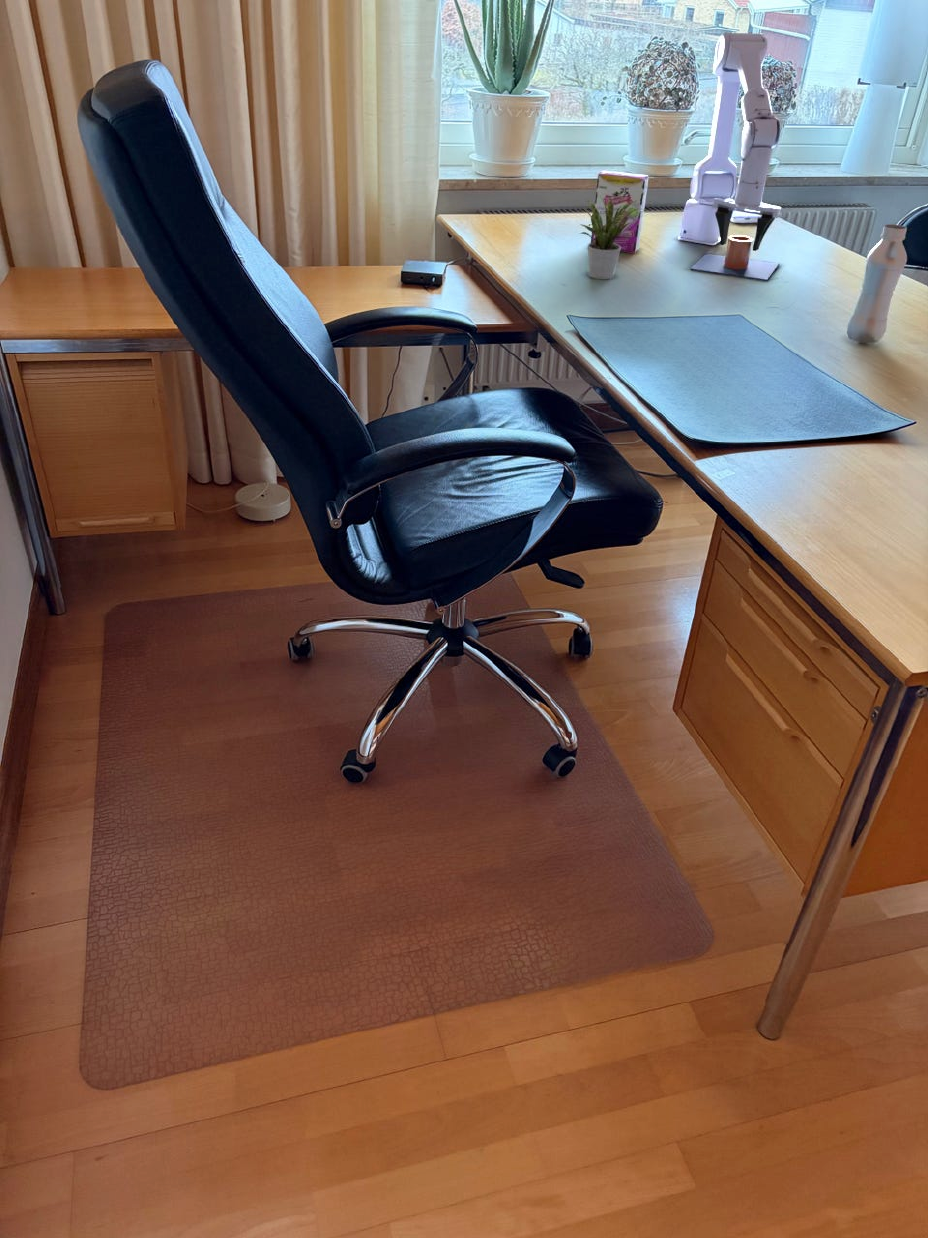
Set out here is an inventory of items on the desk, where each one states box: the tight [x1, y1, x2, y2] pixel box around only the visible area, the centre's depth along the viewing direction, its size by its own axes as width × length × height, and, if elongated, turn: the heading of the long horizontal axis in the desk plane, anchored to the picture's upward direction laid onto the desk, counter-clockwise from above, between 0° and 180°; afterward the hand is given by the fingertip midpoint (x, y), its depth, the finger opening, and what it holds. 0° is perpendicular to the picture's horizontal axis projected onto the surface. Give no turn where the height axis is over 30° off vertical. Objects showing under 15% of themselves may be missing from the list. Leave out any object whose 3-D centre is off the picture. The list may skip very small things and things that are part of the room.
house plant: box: [577, 195, 640, 280], centre depth 195 cm, size 14×14×16 cm
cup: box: [724, 234, 754, 269], centre depth 206 cm, size 5×5×6 cm
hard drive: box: [730, 211, 762, 224], centre depth 250 cm, size 2×8×12 cm
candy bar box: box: [590, 170, 650, 254], centre depth 214 cm, size 11×5×16 cm, turn 71°
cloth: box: [690, 253, 780, 282], centre depth 208 cm, size 17×15×1 cm
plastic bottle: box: [846, 223, 908, 344], centre depth 163 cm, size 6×7×20 cm
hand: (738, 246), depth 206 cm, fingers open, 7 cm apart
